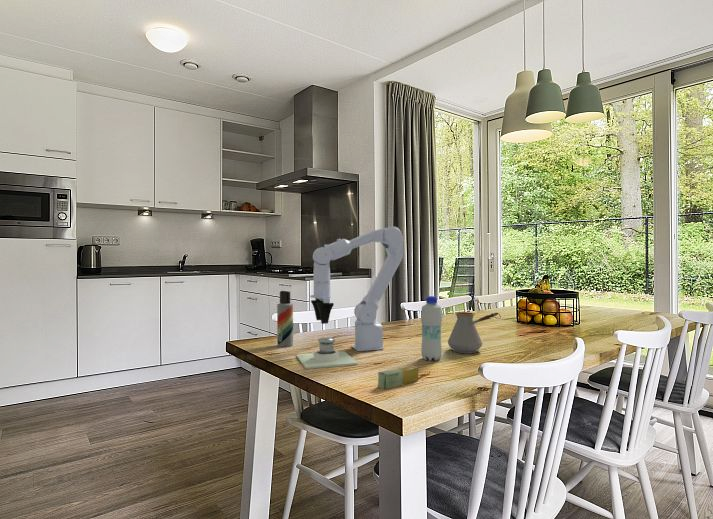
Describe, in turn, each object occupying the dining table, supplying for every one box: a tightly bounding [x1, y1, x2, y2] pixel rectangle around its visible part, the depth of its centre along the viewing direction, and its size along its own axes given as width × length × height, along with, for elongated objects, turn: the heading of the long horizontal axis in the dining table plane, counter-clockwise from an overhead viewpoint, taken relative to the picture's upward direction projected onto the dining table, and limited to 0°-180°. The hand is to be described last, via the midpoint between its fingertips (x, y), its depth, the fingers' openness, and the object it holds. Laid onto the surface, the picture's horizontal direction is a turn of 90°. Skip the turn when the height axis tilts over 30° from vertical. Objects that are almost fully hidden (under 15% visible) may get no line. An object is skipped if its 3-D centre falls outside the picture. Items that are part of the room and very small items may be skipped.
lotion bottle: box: [276, 290, 294, 348], centre depth 159 cm, size 6×6×20 cm
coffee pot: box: [447, 311, 501, 354], centre depth 145 cm, size 21×12×15 cm, turn 27°
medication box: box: [377, 365, 419, 390], centre depth 113 cm, size 12×3×4 cm, turn 127°
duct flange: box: [295, 349, 359, 370], centre depth 137 cm, size 16×16×3 cm
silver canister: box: [317, 336, 336, 354], centre depth 138 cm, size 5×5×6 cm
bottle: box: [420, 295, 443, 362], centre depth 138 cm, size 7×7×20 cm
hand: (322, 321), depth 151 cm, fingers open, 7 cm apart
